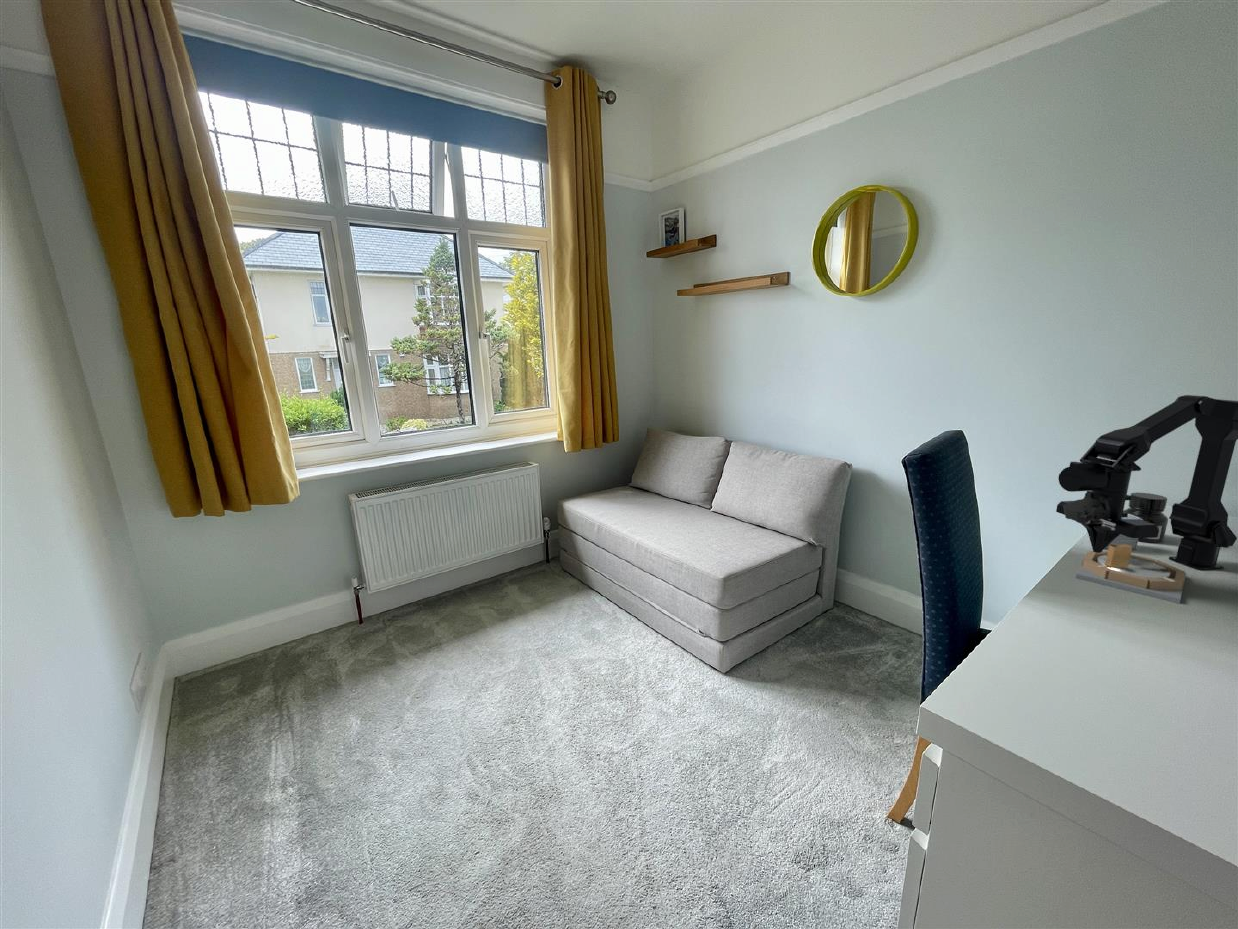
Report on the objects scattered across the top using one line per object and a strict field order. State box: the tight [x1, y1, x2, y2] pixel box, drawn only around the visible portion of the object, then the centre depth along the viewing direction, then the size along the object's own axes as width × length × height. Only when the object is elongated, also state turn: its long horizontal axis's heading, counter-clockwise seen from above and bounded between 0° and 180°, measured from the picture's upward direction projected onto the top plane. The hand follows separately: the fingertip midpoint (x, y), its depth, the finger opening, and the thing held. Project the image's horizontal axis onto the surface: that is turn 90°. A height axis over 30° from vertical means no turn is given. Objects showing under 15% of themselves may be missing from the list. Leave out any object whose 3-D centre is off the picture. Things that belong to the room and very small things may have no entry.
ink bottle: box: [1123, 492, 1169, 543], centre depth 134 cm, size 10×9×12 cm
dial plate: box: [1075, 550, 1187, 604], centre depth 112 cm, size 18×16×3 cm
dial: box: [1097, 544, 1170, 578], centre depth 112 cm, size 12×12×7 cm
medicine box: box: [1104, 514, 1143, 550], centre depth 129 cm, size 8×4×9 cm, turn 84°
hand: (1096, 552), depth 116 cm, fingers closed
